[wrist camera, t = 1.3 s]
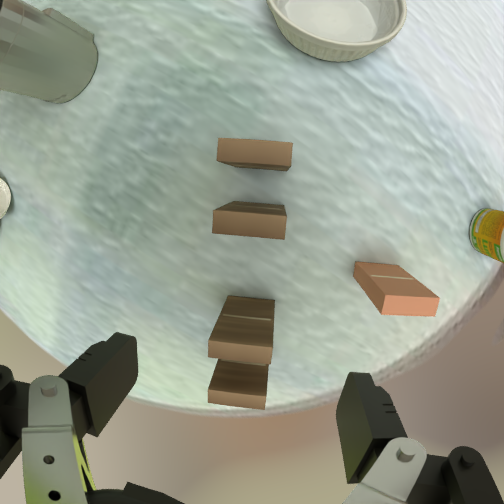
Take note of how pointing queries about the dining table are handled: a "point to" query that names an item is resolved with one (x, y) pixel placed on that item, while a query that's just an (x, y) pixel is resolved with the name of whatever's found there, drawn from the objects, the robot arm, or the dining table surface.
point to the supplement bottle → (488, 233)
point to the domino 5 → (395, 290)
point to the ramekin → (339, 25)
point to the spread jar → (4, 198)
